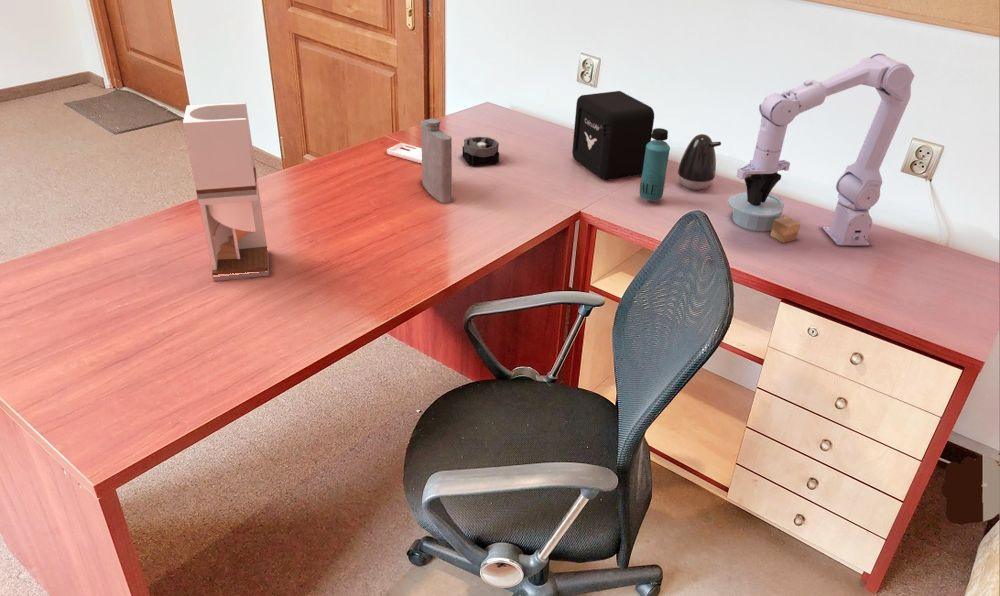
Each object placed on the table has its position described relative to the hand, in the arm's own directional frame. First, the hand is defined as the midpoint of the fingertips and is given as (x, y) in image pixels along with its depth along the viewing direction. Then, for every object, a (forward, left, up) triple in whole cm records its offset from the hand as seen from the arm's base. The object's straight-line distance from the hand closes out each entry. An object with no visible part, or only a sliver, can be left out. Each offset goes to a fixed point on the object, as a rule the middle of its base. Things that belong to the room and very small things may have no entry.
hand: (756, 201), depth 182 cm
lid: (0, 0, -1) cm, 1 cm away
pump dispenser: (+33, +4, -11) cm, 34 cm away
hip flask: (+28, +77, -11) cm, 83 cm away
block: (+2, -10, -10) cm, 14 cm away
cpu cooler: (+51, +64, -11) cm, 83 cm away
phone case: (+54, +84, -11) cm, 100 cm away
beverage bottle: (+23, +19, -11) cm, 31 cm away
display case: (-13, +119, -11) cm, 121 cm away
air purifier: (+46, +27, -10) cm, 54 cm away
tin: (+11, -6, -10) cm, 16 cm away
